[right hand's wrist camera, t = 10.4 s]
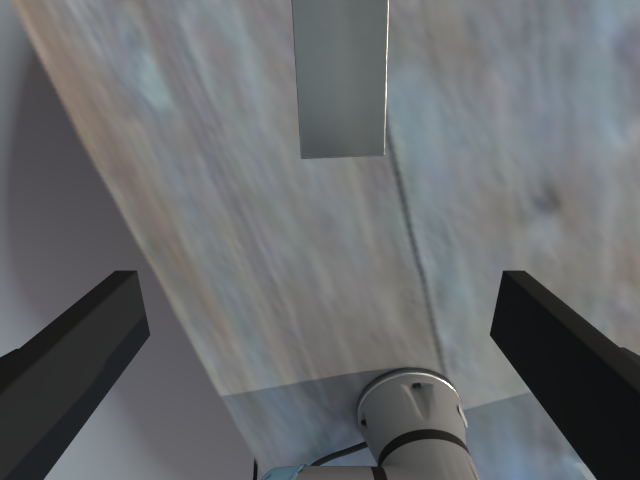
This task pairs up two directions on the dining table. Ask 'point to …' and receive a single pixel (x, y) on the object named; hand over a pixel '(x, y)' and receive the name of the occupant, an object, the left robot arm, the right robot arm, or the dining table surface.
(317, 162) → the dining table surface
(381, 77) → the bar
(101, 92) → the dining table surface
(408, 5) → the dining table surface
